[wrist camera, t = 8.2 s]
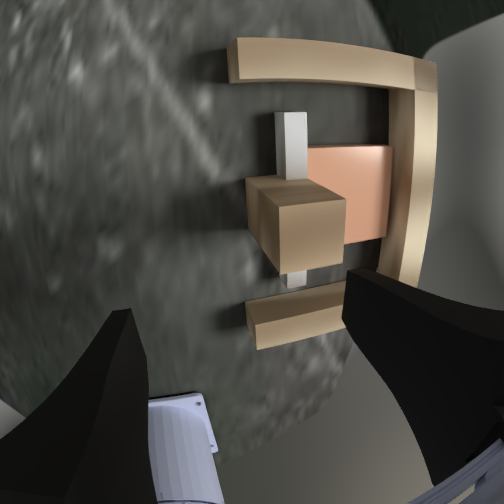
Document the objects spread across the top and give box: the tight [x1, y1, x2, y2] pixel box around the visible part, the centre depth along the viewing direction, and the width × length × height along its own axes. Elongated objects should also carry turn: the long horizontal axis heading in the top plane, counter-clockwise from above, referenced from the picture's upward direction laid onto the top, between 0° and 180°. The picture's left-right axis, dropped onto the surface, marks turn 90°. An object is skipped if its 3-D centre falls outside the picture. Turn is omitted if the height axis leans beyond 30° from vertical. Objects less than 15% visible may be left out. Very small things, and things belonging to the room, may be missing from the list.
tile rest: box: [227, 38, 438, 350], centre depth 18 cm, size 17×12×2 cm
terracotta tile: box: [307, 144, 393, 244], centre depth 19 cm, size 6×6×2 cm
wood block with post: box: [245, 112, 347, 289], centre depth 16 cm, size 10×3×6 cm, turn 3°
